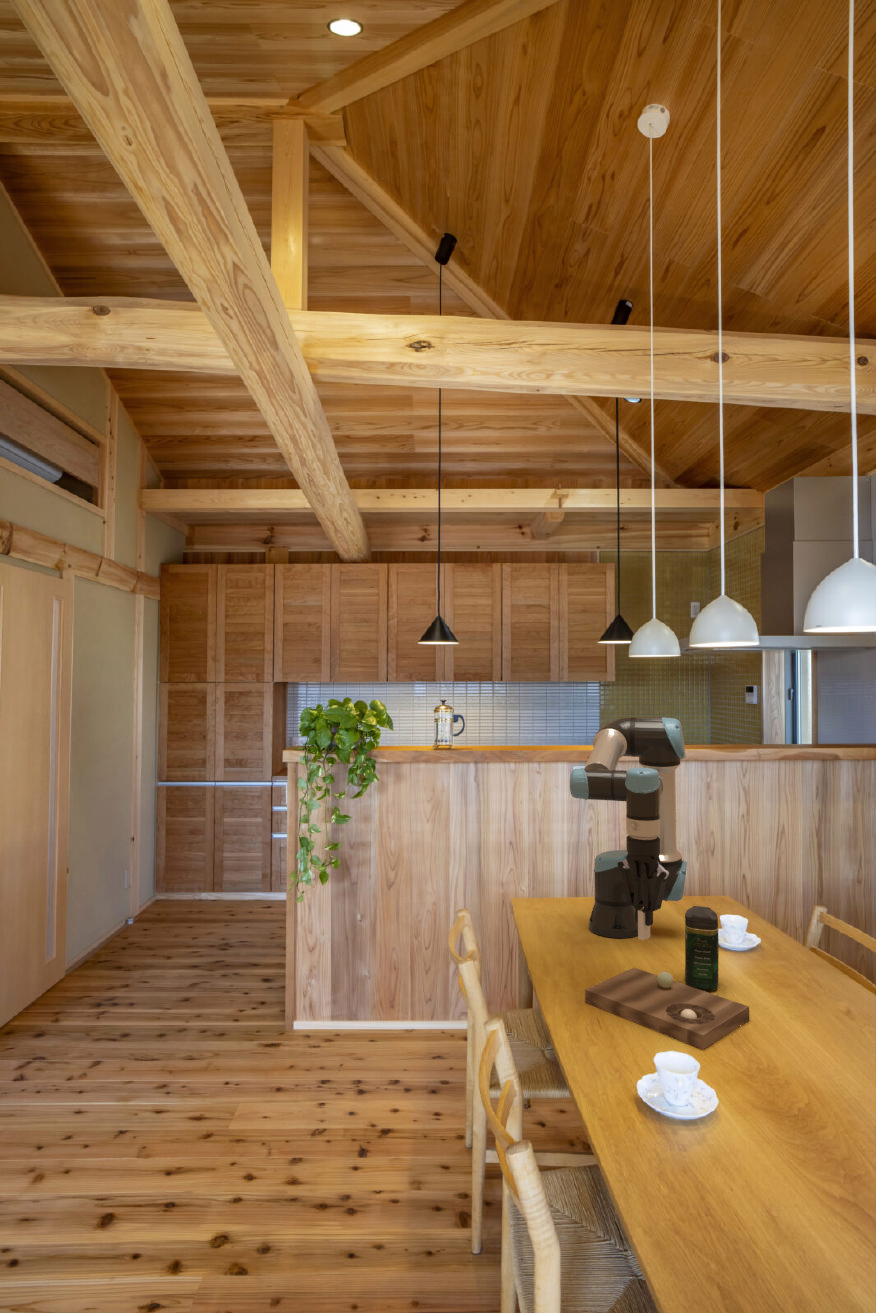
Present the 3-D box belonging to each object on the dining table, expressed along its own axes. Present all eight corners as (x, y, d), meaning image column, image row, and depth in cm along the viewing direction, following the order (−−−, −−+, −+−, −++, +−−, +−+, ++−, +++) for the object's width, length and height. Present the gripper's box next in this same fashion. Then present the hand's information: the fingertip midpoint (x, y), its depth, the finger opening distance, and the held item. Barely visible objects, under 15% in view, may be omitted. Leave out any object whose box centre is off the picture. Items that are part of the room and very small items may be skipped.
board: (585, 1002, 176) (584, 989, 176) (634, 979, 190) (633, 967, 190) (703, 1049, 154) (703, 1035, 154) (749, 1020, 167) (749, 1006, 167)
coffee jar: (719, 994, 181) (718, 916, 181) (684, 989, 183) (684, 913, 184) (718, 978, 190) (717, 905, 190) (685, 974, 192) (684, 902, 193)
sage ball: (654, 987, 178) (654, 971, 178) (662, 983, 180) (662, 968, 180) (667, 992, 175) (667, 976, 175) (676, 987, 177) (676, 972, 177)
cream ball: (693, 1017, 162) (686, 1031, 162) (703, 1016, 164) (696, 1030, 164) (681, 1005, 165) (674, 1018, 165) (690, 1004, 167) (683, 1018, 167)
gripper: (609, 833, 176) (611, 934, 176) (659, 843, 166) (660, 950, 166) (628, 828, 181) (629, 926, 181) (677, 838, 171) (678, 941, 171)
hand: (644, 937), depth 173 cm, fingers closed
